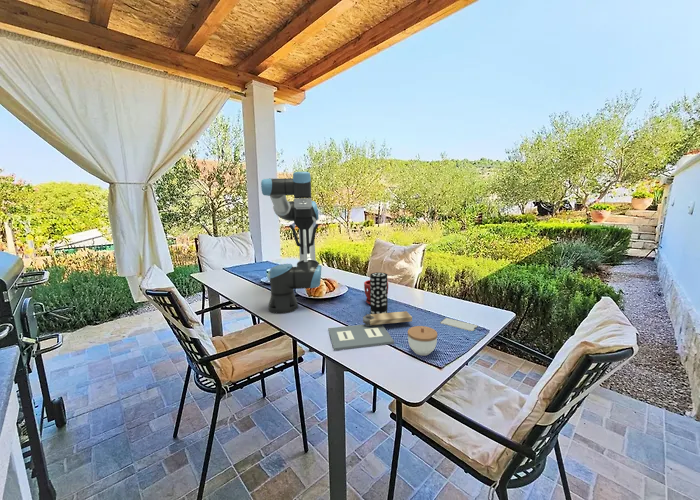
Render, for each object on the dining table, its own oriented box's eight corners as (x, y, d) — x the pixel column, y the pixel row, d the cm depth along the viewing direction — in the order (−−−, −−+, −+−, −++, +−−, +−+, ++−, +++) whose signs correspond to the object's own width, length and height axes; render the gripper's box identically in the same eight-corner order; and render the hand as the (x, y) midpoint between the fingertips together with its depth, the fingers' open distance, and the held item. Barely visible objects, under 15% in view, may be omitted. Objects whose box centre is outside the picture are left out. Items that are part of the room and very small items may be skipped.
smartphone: (445, 317, 140) (478, 325, 130) (445, 318, 140) (478, 326, 130) (439, 322, 134) (473, 331, 125) (439, 324, 134) (473, 332, 125)
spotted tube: (386, 317, 142) (386, 277, 138) (369, 316, 144) (369, 276, 140) (387, 310, 150) (388, 272, 146) (371, 309, 152) (371, 272, 148)
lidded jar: (404, 345, 115) (404, 322, 113) (430, 343, 116) (431, 321, 114) (412, 360, 104) (412, 335, 103) (441, 358, 105) (442, 333, 103)
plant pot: (392, 301, 164) (392, 280, 162) (381, 308, 153) (381, 286, 151) (371, 297, 171) (371, 277, 169) (359, 304, 160) (359, 283, 158)
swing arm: (364, 325, 127) (364, 318, 127) (361, 319, 134) (361, 312, 134) (412, 321, 131) (412, 314, 130) (406, 315, 137) (406, 308, 137)
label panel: (328, 329, 130) (328, 325, 129) (380, 324, 134) (380, 320, 134) (334, 350, 112) (333, 345, 111) (394, 343, 116) (394, 338, 116)
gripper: (287, 209, 123) (290, 264, 127) (319, 208, 126) (321, 262, 130) (288, 208, 130) (290, 260, 135) (317, 207, 133) (319, 258, 137)
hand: (305, 261), depth 132 cm, fingers closed
